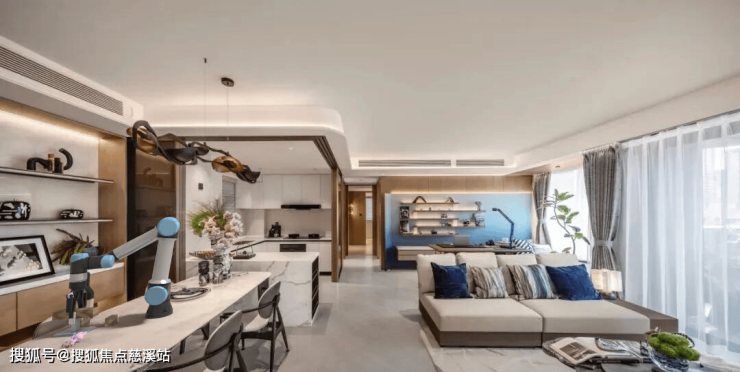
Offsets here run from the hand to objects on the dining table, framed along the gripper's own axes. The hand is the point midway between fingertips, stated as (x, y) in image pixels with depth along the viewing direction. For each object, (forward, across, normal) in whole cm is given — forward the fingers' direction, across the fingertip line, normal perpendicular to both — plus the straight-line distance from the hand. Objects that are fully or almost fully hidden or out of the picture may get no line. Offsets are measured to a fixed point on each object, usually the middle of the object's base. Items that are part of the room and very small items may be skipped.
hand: (75, 322), depth 177 cm
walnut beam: (-3, 0, 0) cm, 3 cm away
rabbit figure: (+6, +17, +11) cm, 21 cm away
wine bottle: (+6, -26, -12) cm, 29 cm away
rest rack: (+6, -10, +5) cm, 13 cm away
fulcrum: (+6, 0, 0) cm, 6 cm away
